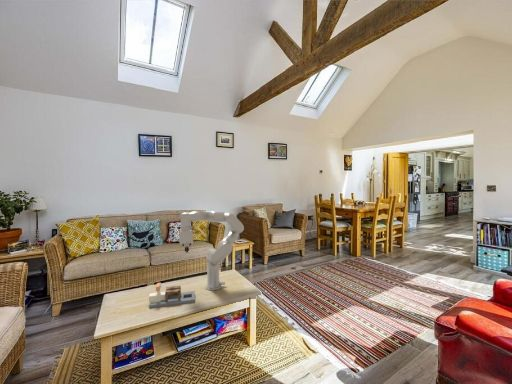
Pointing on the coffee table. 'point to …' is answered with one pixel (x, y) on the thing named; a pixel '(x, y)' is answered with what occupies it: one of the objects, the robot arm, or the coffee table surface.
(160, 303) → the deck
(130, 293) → the coffee table surface
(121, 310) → the coffee table surface
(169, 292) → the tunnel
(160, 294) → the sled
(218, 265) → the robot arm
